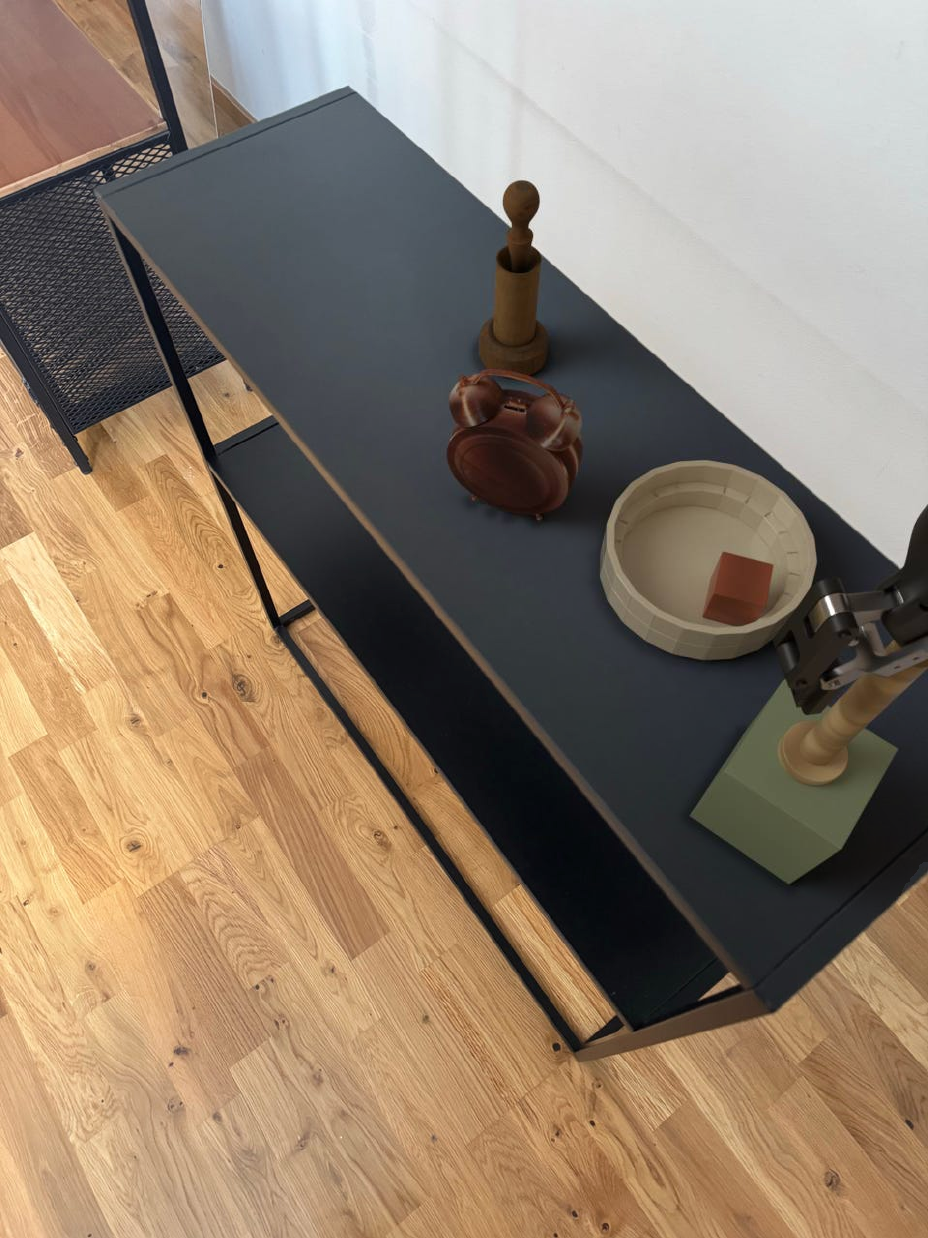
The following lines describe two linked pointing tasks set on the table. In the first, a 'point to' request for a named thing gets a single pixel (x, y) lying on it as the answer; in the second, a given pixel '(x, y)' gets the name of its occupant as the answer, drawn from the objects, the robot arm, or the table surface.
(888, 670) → the robot arm
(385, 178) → the table surface
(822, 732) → the stick
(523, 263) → the mortar and pestle
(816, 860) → the stand
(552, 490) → the alarm clock
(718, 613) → the block
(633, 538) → the bowl
